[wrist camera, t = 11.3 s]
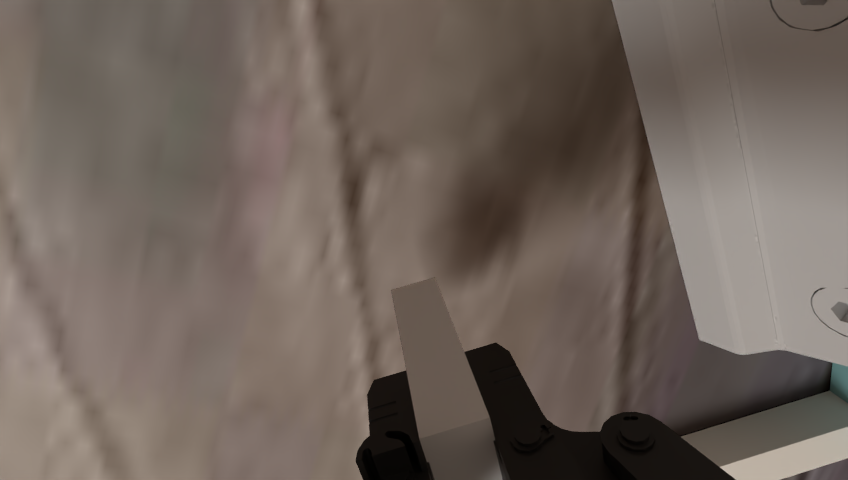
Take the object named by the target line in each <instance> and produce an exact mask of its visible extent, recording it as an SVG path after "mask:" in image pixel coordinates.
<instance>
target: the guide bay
mask: <svg viewBox="0 0 848 480" xmlns="http://www.w3.org/2000/svg"><path fill="white" fill-rule="evenodd" d="M681 438H683V439H684V440H685V441H687V442H688V443H689V444H690V445H692V446H693V447H694V448H696V449H697V450H698V451H700V452H701V453H702V454H703V455H705V456H706V457H707V458H709V459H710V460H711V461H712V462H714V463H715V464H716V465H718V466H719V467H720V468H721V469H723V470H724V471H725V472H727V473H728V474H729V475H731V476H732V477H733V478H734V479H736V480H780V479H783V478H787V477H790V476H793V475H796V474H799V473H802V472H805V471H809V470H812V469H815V468H818V467H821V466H824V465H828V464H831V463H834V462H837V461H840V460H843V459H846V458H848V366H844V365H840V364H836V363H833V364H832V373H831V382H830V391H827V392H824V393H820V394H817V395H814V396H811V397H807V398H804V399H801V400H798V401H794V402H791V403H788V404H785V405H781V406H778V407H775V408H772V409H769V410H765V411H762V412H759V413H756V414H752V415H749V416H746V417H743V418H739V419H736V420H733V421H730V422H727V423H723V424H720V425H717V426H714V427H710V428H707V429H704V430H701V431H697V432H694V433H691V434H688V435H684V436H681Z"/></svg>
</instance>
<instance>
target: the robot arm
mask: <svg viewBox="0 0 848 480" xmlns="http://www.w3.org/2000/svg"><path fill="white" fill-rule="evenodd" d="M391 292H392V298H393V303H394V308H395V313H396V319H397V324H398V329H399V334H400V340H401V345H402V350H403V355H404V361H405V366H406V371H403V372H400V373H396V374H393V375H390V376H386V377H383V378H379V379H376V380H374V381H373V383H372V385H371V388H370V390H369V392H368V394H367V398H368V410H369V412H368V413H369V423H370V424H369V429H370V436H369V437H368V438H367V439H366V440H364V442H363V443H362V445H361V446H360V448H359V449H358V452H357V457H356V463H357V465H358V468H359V470H360V473H361V475H362V478H363V480H736V479H734V478H733V477H732V476H731V475H729V474H728V473H727V472H725V471H724V470H723V469H721V468H720V467H719V466H718V465H716V464H715V463H714V462H712V461H711V460H710V459H709V458H707V457H706V456H705V455H703V454H702V453H701V452H700V451H698V450H697V449H696V448H694V447H693V446H692V445H690V444H689V443H688V442H687V441H685V440H684V439H683V438H681V437H680V436H679V435H678V434H676V433H675V432H674V431H672V430H671V429H670V428H669V427H667V426H666V425H665V424H663V423H662V422H661V421H659V420H657V419H655V418H653V417H652V416H650V415H647V414H642V413H638V412H622V413H620V414H617V415H614V416H611V417H610V418H609V419H608V420H607V421H606V422H604V424H603V426H602V429H601V431H600V432H573V431H568V430H564V429H561V428H559V427H557V426H555V425H553V424H552V422H550V421H548V420H547V419H546V417H545V416H544V415H543V413H542V412H541V410H540V408H539V406H538V404H537V402H536V400H535V399H534V397H533V395H532V393H531V391H530V389H529V387H528V386H527V384H526V382H525V380H524V378H523V376H522V375H521V373H520V371H519V369H518V367H517V366H516V363H515V361H514V360H513V358H512V356H511V354H510V352H509V351H508V350H506V349H505V348H503V347H502V346H500V345H499V344H497V343H493V344H490V345H487V346H483V347H480V348H476V349H473V350H470V351H466V352H464V350H463V348H462V345H461V343H460V340H459V337H458V335H457V332H456V330H455V327H454V325H453V322H452V320H451V317H450V314H449V312H448V309H447V307H446V304H445V302H444V299H443V297H442V294H441V291H440V289H439V286H438V284H437V281H436V279H435V277H434V278H431V279H427V280H424V281H421V282H417V283H414V284H410V285H407V286H403V287H400V288H396V289H393V290H391Z"/></svg>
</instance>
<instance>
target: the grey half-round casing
mask: <svg viewBox="0 0 848 480" xmlns="http://www.w3.org/2000/svg"><path fill="white" fill-rule="evenodd" d="M612 3H613V7H614V11H615V15H616V19H617V23H618V26H619V30H620V34H621V38H622V42H623V46H624V50H625V54H626V57H627V61H628V65H629V69H630V73H631V77H632V81H633V85H634V88H635V92H636V96H637V100H638V104H639V108H640V112H641V116H642V119H643V123H644V127H645V131H646V135H647V139H648V143H649V147H650V150H651V154H652V158H653V162H654V166H655V170H656V174H657V178H658V181H659V185H660V189H661V193H662V197H663V201H664V205H665V209H666V212H667V216H668V220H669V224H670V228H671V232H672V236H673V240H674V243H675V247H676V251H677V255H678V259H679V263H680V267H681V271H682V274H683V278H684V282H685V286H686V290H687V294H688V298H689V302H690V305H691V309H692V313H693V317H694V321H695V325H696V329H697V333H698V336H699V340H702V341H704V342H707V343H709V344H712V345H715V346H717V347H720V348H722V349H725V350H728V351H730V352H733V353H736V354H740V355H747V354H753V353H760V352H766V351H772V350H786V351H790V352H794V353H798V354H802V355H805V356H809V357H813V358H817V359H821V360H825V361H828V362H832V363H836V364H840V365H844V366H848V0H612Z"/></svg>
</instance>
